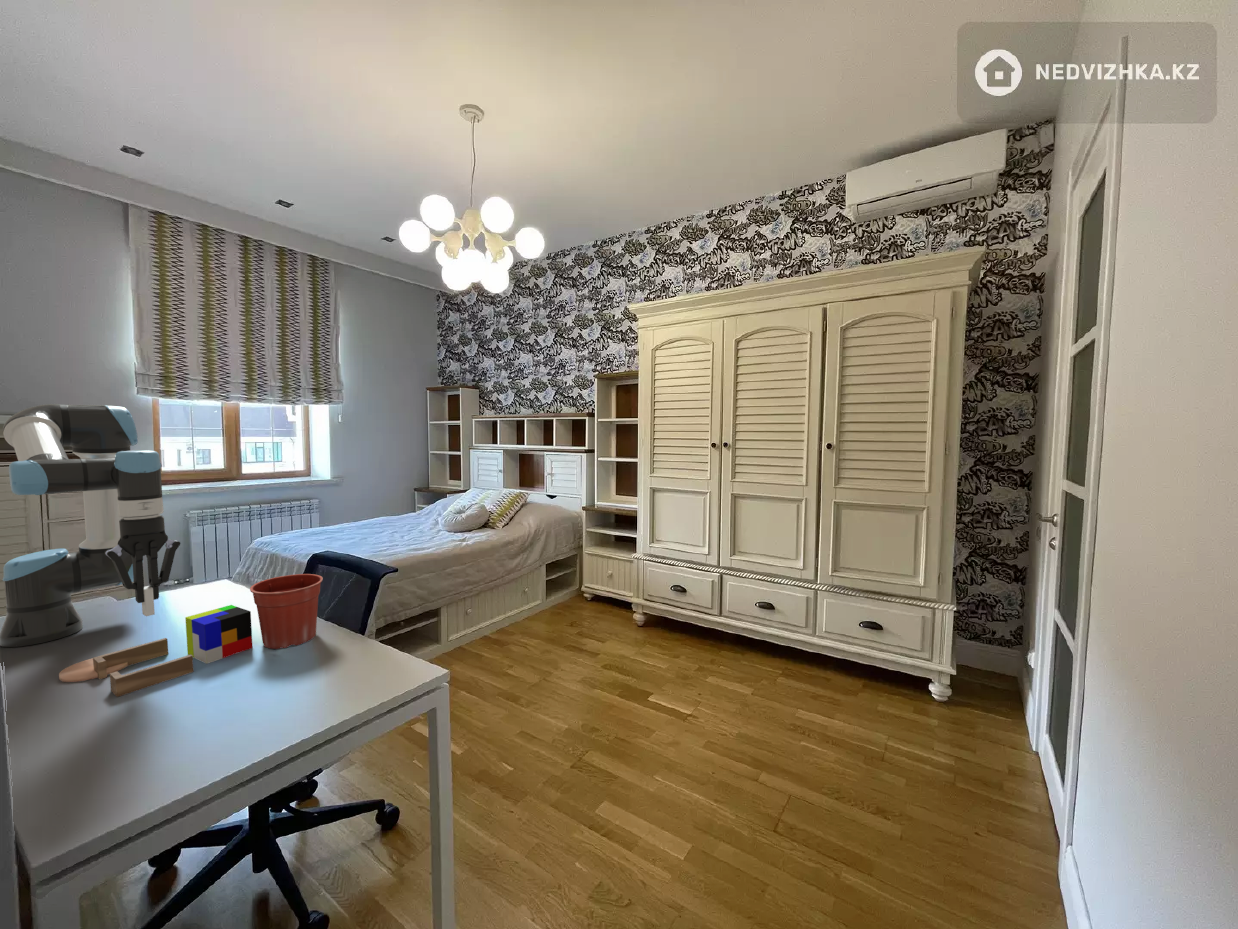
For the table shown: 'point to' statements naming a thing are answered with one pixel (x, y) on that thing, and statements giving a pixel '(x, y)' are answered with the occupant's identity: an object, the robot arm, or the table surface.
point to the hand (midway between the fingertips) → (148, 614)
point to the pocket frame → (143, 676)
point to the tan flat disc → (85, 671)
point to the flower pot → (287, 609)
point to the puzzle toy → (218, 633)
